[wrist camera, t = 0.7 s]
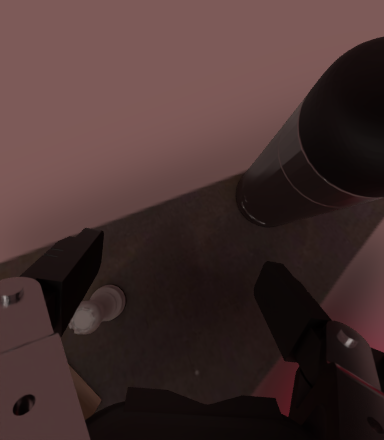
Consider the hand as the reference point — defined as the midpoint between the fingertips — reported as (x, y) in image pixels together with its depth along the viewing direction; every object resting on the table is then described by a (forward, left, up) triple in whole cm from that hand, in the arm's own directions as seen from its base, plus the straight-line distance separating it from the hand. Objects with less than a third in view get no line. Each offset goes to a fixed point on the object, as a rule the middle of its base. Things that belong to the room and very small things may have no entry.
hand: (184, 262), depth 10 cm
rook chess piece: (+11, -3, -20) cm, 23 cm away
